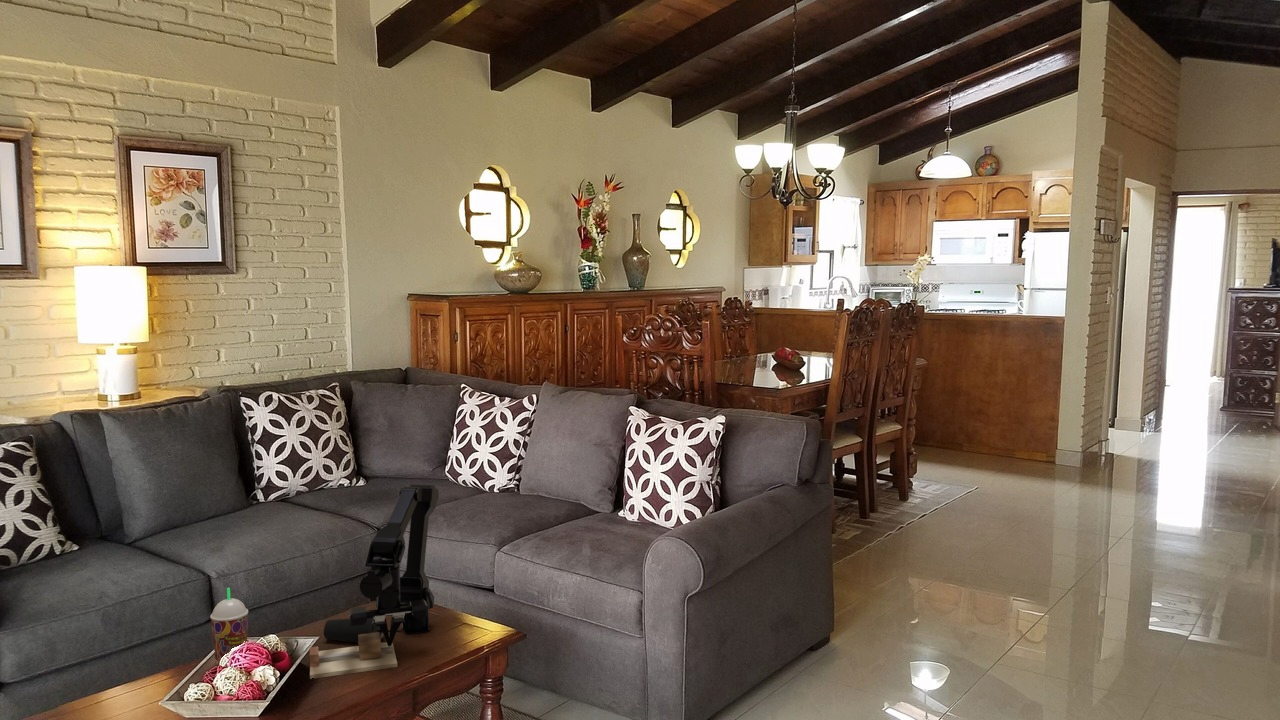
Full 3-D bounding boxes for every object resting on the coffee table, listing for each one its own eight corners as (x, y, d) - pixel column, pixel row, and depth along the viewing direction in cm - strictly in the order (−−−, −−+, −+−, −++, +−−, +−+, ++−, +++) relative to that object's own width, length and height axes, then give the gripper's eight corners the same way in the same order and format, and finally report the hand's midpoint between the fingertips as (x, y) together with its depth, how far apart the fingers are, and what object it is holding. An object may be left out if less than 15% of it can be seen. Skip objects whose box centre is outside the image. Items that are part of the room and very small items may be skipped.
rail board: (392, 645, 230) (392, 630, 230) (397, 666, 217) (396, 650, 217) (310, 656, 224) (309, 640, 223) (310, 679, 210) (309, 662, 210)
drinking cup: (337, 629, 239) (408, 631, 236) (325, 650, 232) (398, 653, 230) (330, 608, 235) (402, 609, 233) (318, 629, 229) (392, 631, 226)
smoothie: (231, 677, 211) (228, 595, 209) (204, 672, 214) (201, 591, 212) (257, 663, 219) (255, 584, 217) (231, 658, 222) (228, 580, 220)
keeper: (379, 648, 225) (379, 632, 225) (381, 657, 220) (380, 640, 219) (358, 651, 224) (358, 634, 223) (359, 660, 218) (359, 643, 218)
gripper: (422, 571, 233) (423, 629, 234) (347, 579, 226) (349, 638, 227) (428, 584, 222) (429, 644, 224) (349, 593, 216) (351, 655, 217)
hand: (389, 645), depth 223 cm, fingers closed
